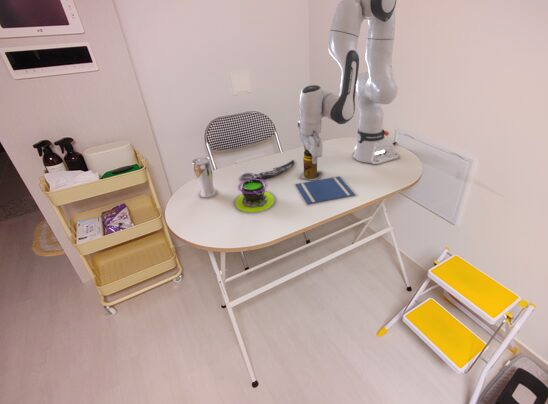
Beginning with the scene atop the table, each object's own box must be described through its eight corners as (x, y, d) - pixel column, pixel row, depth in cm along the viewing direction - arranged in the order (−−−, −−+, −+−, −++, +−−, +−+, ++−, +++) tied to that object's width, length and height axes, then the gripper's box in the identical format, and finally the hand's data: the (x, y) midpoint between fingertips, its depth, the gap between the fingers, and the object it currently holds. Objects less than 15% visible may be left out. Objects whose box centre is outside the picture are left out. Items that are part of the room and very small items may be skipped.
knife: (292, 158, 148) (303, 165, 141) (292, 161, 149) (303, 168, 142) (237, 174, 136) (246, 182, 128) (238, 177, 137) (246, 185, 129)
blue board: (339, 177, 135) (339, 176, 134) (354, 195, 122) (354, 194, 122) (296, 184, 129) (296, 183, 129) (307, 204, 117) (307, 203, 116)
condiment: (300, 178, 134) (299, 153, 128) (307, 169, 141) (307, 145, 134) (315, 180, 132) (315, 155, 125) (322, 172, 139) (322, 148, 132)
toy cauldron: (277, 208, 114) (275, 183, 108) (237, 215, 111) (232, 189, 105) (270, 189, 126) (268, 165, 120) (234, 194, 123) (229, 170, 117)
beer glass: (202, 189, 127) (195, 156, 118) (219, 189, 126) (212, 156, 118) (197, 198, 121) (188, 164, 112) (214, 198, 121) (206, 164, 112)
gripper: (327, 135, 117) (325, 167, 124) (310, 119, 133) (309, 149, 140) (311, 137, 115) (311, 170, 122) (296, 121, 131) (296, 150, 139)
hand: (310, 158), depth 132 cm, fingers open, 8 cm apart
